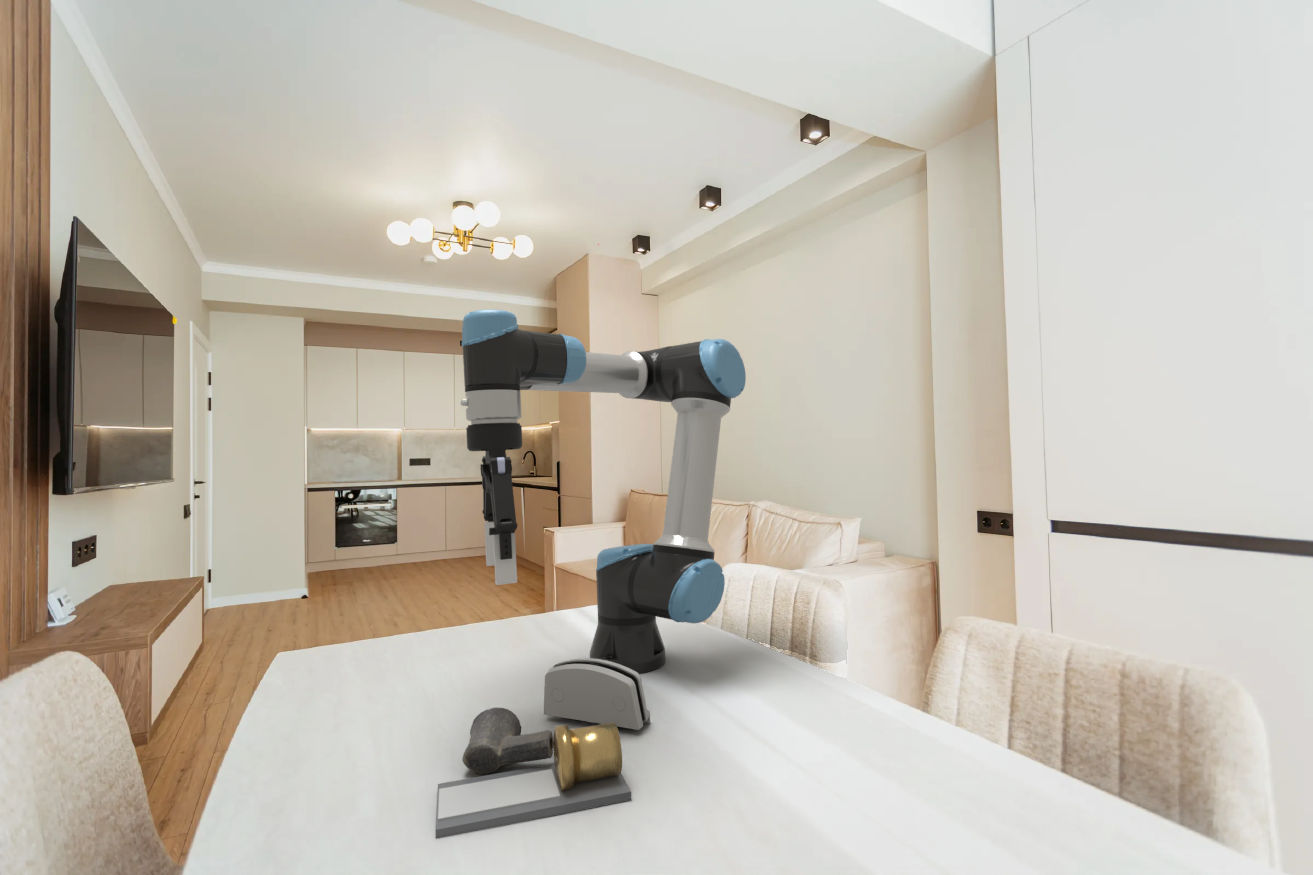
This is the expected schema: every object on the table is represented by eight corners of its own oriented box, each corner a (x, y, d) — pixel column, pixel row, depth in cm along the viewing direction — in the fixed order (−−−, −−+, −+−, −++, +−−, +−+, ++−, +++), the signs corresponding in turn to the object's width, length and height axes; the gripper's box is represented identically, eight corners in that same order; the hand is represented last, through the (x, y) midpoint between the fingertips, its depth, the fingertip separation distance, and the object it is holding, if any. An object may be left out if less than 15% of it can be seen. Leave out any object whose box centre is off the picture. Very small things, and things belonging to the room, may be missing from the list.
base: (611, 760, 84) (611, 751, 84) (631, 799, 75) (631, 789, 75) (437, 791, 77) (437, 782, 77) (435, 838, 68) (435, 827, 68)
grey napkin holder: (653, 723, 96) (648, 660, 95) (640, 739, 91) (636, 674, 91) (558, 708, 102) (553, 649, 101) (542, 723, 98) (537, 661, 97)
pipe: (544, 735, 80) (557, 701, 87) (446, 744, 80) (467, 709, 88) (551, 779, 80) (563, 741, 88) (454, 787, 81) (474, 749, 89)
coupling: (610, 763, 83) (608, 708, 83) (624, 791, 76) (622, 731, 76) (553, 773, 80) (552, 716, 81) (563, 803, 74) (562, 741, 74)
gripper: (461, 425, 98) (467, 560, 98) (472, 419, 75) (479, 596, 75) (510, 424, 101) (516, 555, 101) (535, 417, 77) (542, 589, 78)
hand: (500, 573), depth 88 cm, fingers open, 13 cm apart
